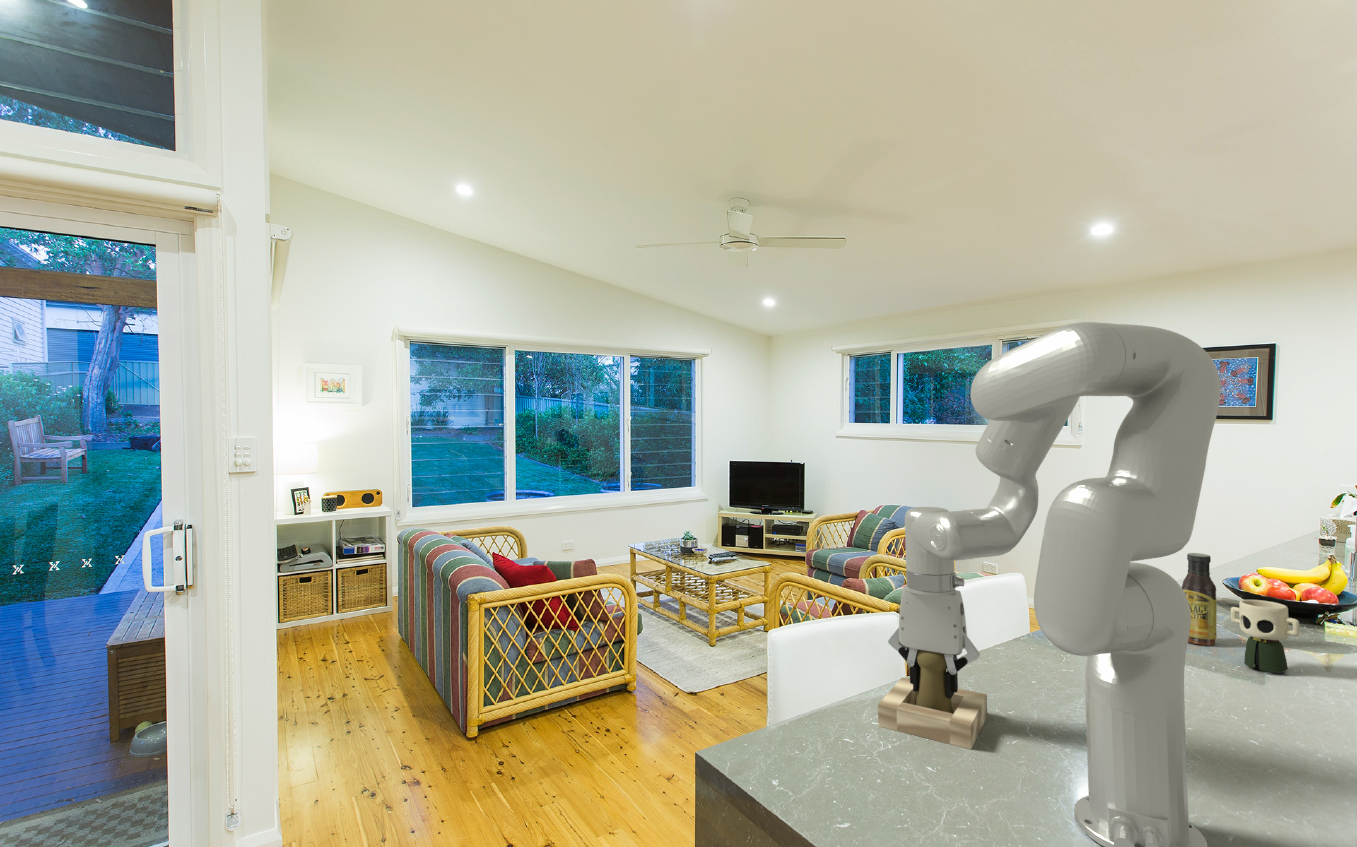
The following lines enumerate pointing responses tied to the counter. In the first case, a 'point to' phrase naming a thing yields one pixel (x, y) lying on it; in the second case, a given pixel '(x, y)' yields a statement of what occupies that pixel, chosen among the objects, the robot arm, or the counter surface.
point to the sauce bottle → (1201, 600)
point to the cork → (932, 682)
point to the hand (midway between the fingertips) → (933, 690)
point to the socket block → (934, 715)
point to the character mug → (1265, 633)
